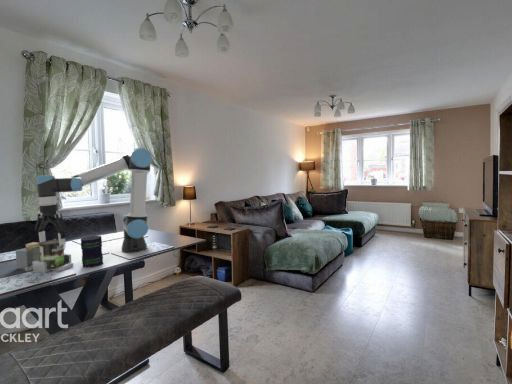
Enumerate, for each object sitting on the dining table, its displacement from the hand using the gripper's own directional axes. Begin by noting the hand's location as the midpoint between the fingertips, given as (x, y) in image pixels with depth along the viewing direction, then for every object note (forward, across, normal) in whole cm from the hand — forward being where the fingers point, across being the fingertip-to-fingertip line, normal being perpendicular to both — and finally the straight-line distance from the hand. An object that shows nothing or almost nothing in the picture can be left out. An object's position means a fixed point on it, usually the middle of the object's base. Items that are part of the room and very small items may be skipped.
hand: (52, 244), depth 144 cm
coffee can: (+13, 0, +1) cm, 13 cm away
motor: (+13, +6, +1) cm, 14 cm away
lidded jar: (+13, +24, -19) cm, 34 cm away
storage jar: (+13, -16, -8) cm, 23 cm away
